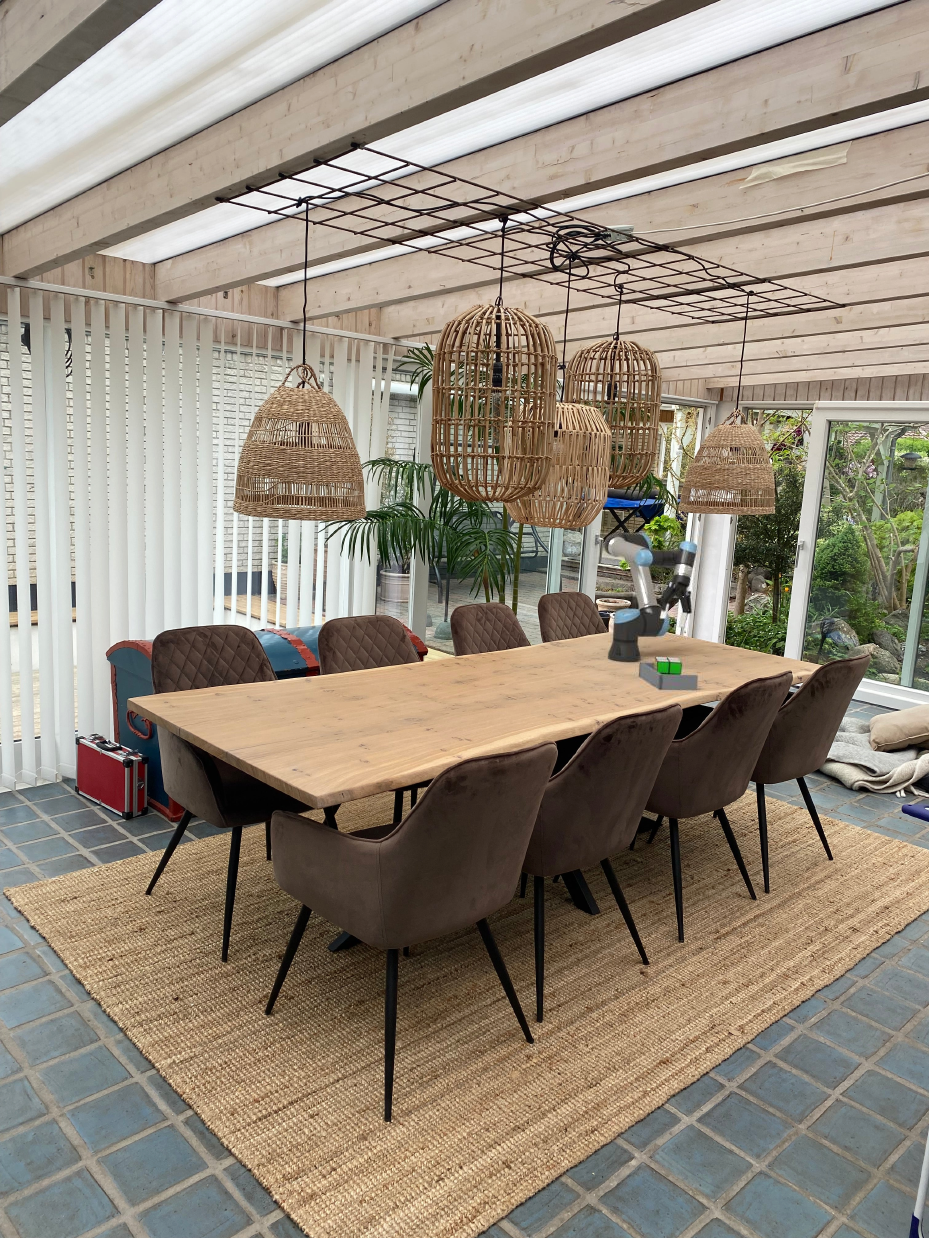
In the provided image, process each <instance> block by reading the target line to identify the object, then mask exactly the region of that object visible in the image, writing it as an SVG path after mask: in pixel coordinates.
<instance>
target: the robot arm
mask: <svg viewBox="0 0 929 1238" xmlns="http://www.w3.org/2000/svg"><path fill="white" fill-rule="evenodd" d="M603 548H604V551H605V552H606V553H607V554H608V555H610V556H612V557H615V558H618V557H620V558H623V559H624V560H625V563H626V564H628V565H629V568H630V573H631V576H632V581H633V586H634V591H635V595H636V600H637V603H638V609H637V608H624V609H622V608H621V609H619V610H617V611H615V613H614V618H613V629H612V631H613V633H612V642H611V645H610V647H609V651H608V652H607V658H608V659H609V658H610V659H609V660H611V659H612V661H615V660H616V662H626V663H629V662H630V663H633V662H639V661H641V657H642V656H641V651H640V648H639V647H640V646H639V638H642V637H643V638H644V637H648V638H649V637H650V638H651V637H652V638H657V637H663V636H665V635H666V633H667V632H668V631H669V627H670V622H671V621H670V616H669V613H668V611H669V607H670V604H669V602H671V601H672V600H673V599H674V597H676V598H678V600H679V601H680V605H681V610H682V612H681V613H680V614H681V615H680V618H679V623H678V628H682V629H683V628H685V627H686V623H687V620H688V616H689V614H692V611H693V610H692V601H691V599H692V598H691V596H692V591H691V590H687V589H688V587H690V584H691V578H692V576H693V575H692V574H693V569H694V565H695V561H696V556H697V553H698V552H697V551H698V545H697V543H695V542H693V541H687V540H684V541H681V542H680V545H679V547H678V548H676V549H652V548H653V545H652V541H651V538H650V537H649V536H648V535H647V534H646V533H640V532H613V533H612V534H610V535H608V536H607V537H606V539H605V540H604V544H603ZM650 567H658V568H659V567H660V568H662V567H663V568H667V569H672V568H673V569H674V571H673V576H672V581H670V582H668V583H667V587H666V588H665V590H664V591H663V592H662V594H661V596H660V597H659V600H660V604H662V606H661V605H660V604H658V602H657V598H656V597H657V596H656V593H655V590H654V584H653V581H652V580H653V579H652V576H651V571H650Z"/></svg>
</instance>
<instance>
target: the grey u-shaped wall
mask: <svg viewBox="0 0 929 1238" xmlns="http://www.w3.org/2000/svg"><path fill="white" fill-rule="evenodd" d="M638 666H639V668H638V669H639V670H638V677H639V678H641V679H642V680H644V681H646V682H647V683H648V684H650V685H651V686H653V687H654V688H656V689H657V690H659V691H697V690H698V682H699V680H698V678H699V675H698V674H681V675H662V674H660V673H659V672H657V671H656V670H654V662H639V665H638Z"/></svg>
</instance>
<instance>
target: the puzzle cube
mask: <svg viewBox="0 0 929 1238" xmlns="http://www.w3.org/2000/svg"><path fill="white" fill-rule="evenodd" d="M653 663H654V670H656V671H657V672H659V673H660V674H662V675H682V668H683V662H682V661H681V660H680V658H678V657H664V656H655V657H654V662H653Z"/></svg>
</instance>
